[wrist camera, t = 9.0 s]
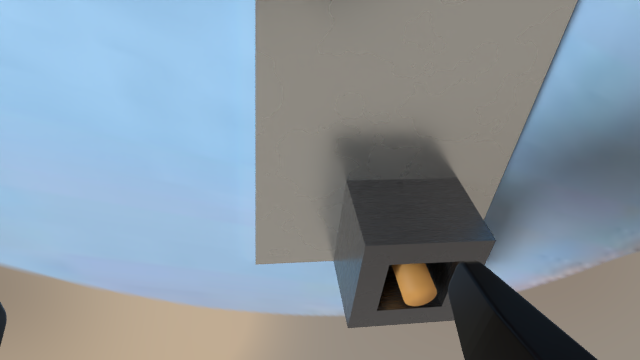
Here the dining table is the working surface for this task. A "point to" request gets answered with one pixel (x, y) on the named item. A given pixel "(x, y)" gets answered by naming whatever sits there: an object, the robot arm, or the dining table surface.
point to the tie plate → (387, 103)
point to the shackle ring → (404, 246)
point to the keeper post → (415, 283)
